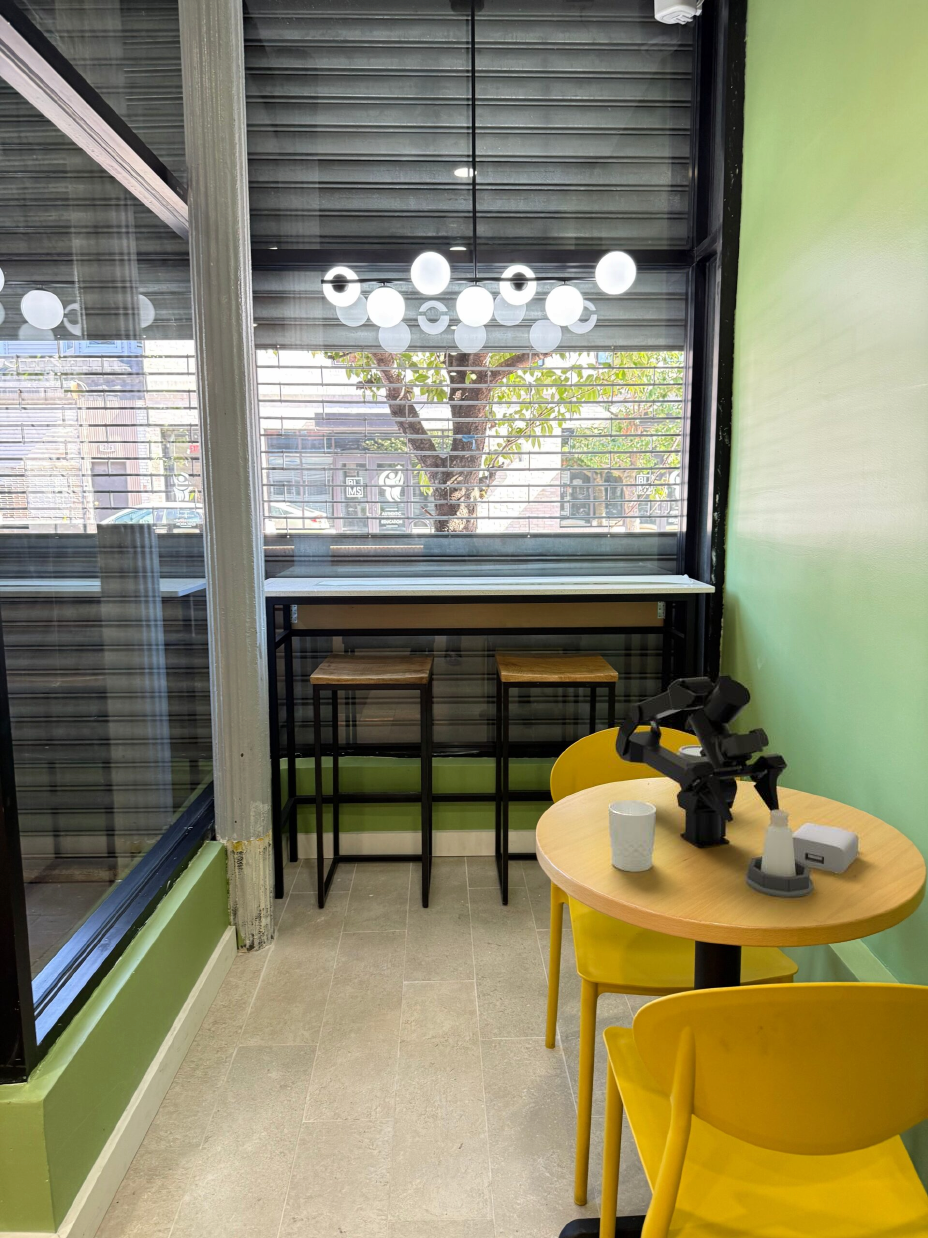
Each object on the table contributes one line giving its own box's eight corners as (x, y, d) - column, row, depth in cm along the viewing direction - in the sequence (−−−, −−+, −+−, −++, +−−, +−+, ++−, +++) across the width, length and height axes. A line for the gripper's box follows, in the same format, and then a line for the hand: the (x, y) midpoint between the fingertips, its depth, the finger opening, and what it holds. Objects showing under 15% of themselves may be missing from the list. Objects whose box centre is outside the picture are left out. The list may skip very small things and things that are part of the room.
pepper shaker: (803, 881, 127) (805, 814, 126) (778, 888, 125) (780, 819, 124) (777, 869, 132) (778, 804, 131) (752, 875, 130) (753, 809, 129)
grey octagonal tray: (774, 901, 122) (774, 884, 122) (732, 876, 131) (733, 859, 131) (826, 892, 125) (827, 874, 125) (783, 867, 135) (783, 851, 134)
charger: (866, 848, 143) (843, 876, 131) (813, 837, 149) (786, 862, 137) (867, 823, 142) (844, 848, 131) (813, 812, 148) (786, 835, 137)
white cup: (626, 877, 132) (626, 818, 131) (599, 860, 139) (599, 804, 138) (665, 868, 135) (665, 811, 134) (637, 852, 142) (637, 797, 141)
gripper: (689, 717, 134) (729, 801, 124) (781, 708, 140) (826, 788, 130) (663, 751, 142) (698, 833, 133) (751, 742, 148) (791, 819, 138)
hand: (754, 818), depth 133 cm, fingers open, 9 cm apart
